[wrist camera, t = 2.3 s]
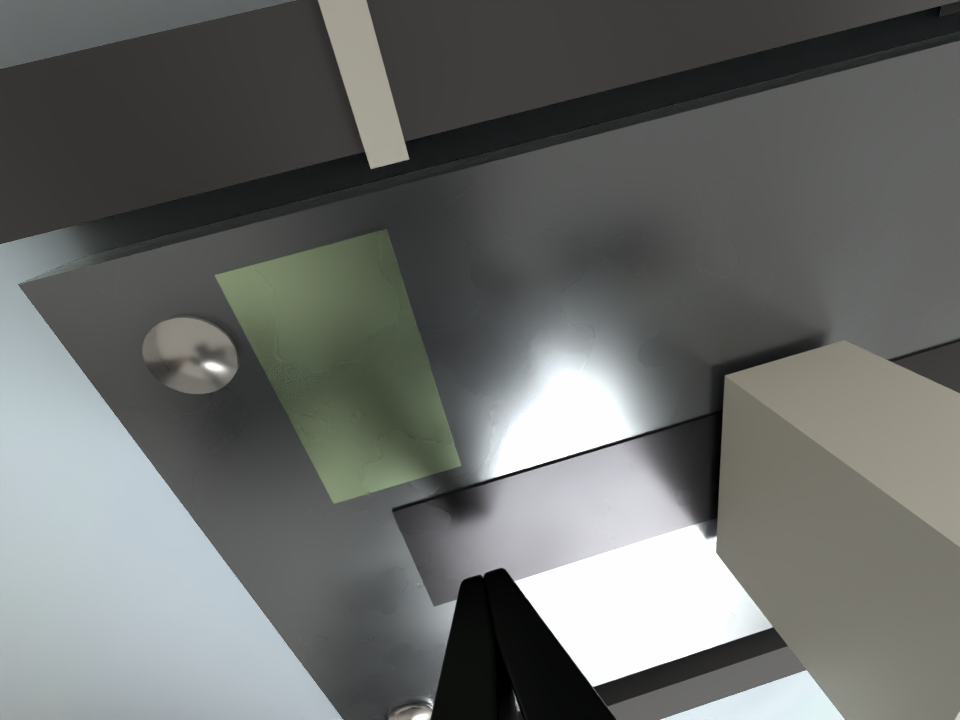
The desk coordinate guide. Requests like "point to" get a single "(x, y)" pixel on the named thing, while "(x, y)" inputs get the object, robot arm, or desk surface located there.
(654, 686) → the cord bundle inner
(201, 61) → the cord bundle outer
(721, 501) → the lever
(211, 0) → the desk surface
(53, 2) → the desk surface
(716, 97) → the breaker panel
